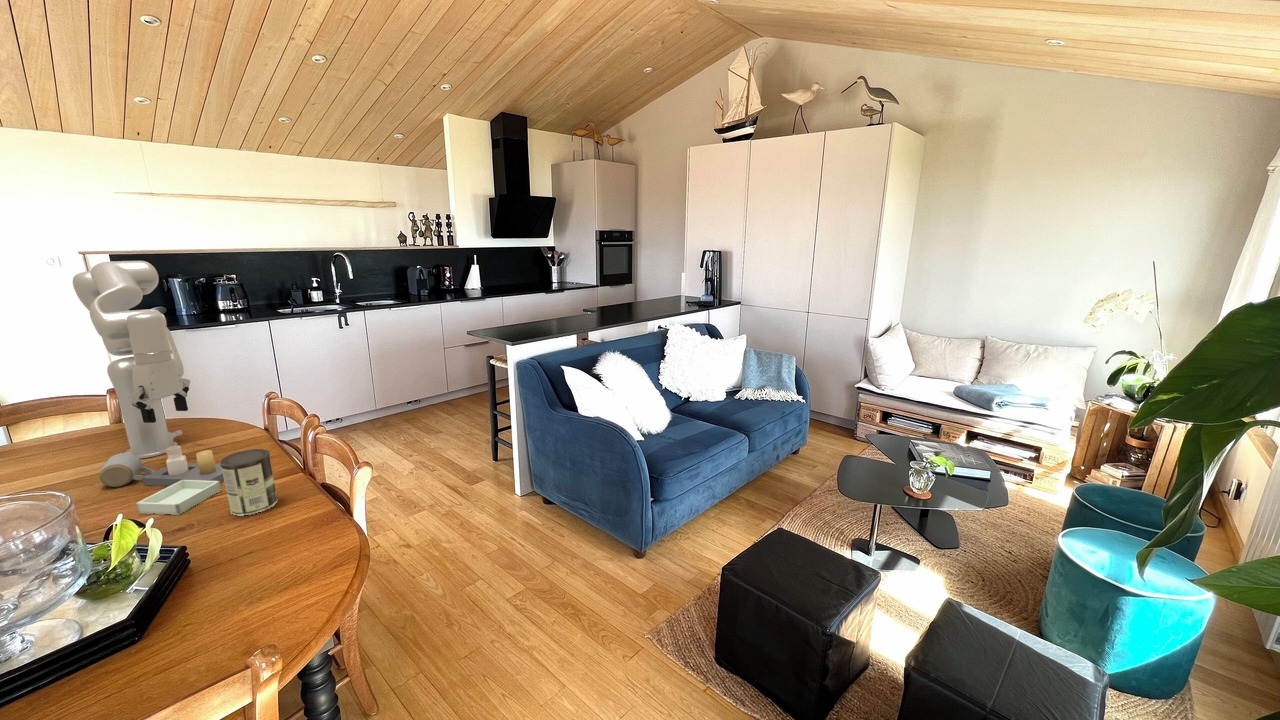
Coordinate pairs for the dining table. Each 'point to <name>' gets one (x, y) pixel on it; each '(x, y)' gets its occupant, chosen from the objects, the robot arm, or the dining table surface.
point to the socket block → (189, 472)
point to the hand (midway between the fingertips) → (166, 416)
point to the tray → (178, 497)
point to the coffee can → (249, 481)
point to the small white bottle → (176, 461)
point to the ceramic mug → (122, 470)
